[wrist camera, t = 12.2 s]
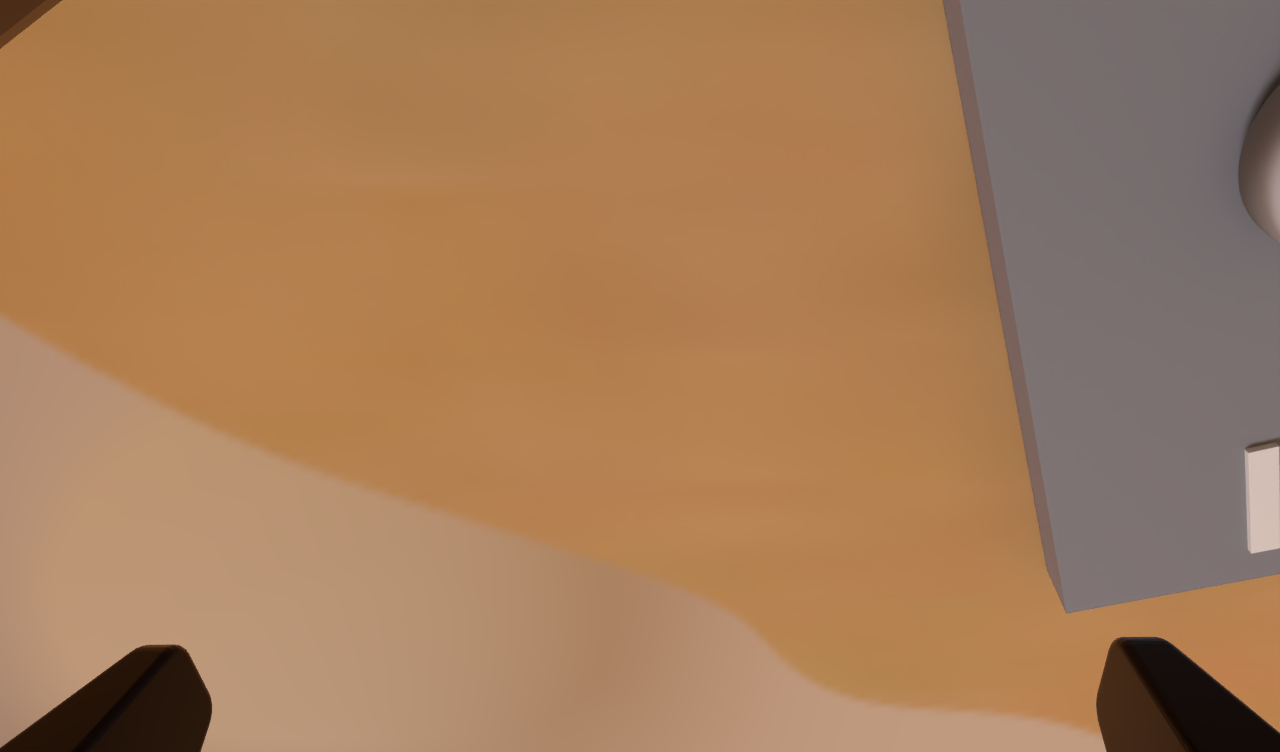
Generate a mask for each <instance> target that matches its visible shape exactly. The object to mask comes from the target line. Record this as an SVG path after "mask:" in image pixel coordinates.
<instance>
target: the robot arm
mask: <svg viewBox="0 0 1280 752" xmlns="http://www.w3.org/2000/svg"><path fill="white" fill-rule="evenodd" d="M60 1H62V0H0V48H2V47H3V46H4V45H5V44H7V43H8V42H9V41H11V40H12V39H13V38H14V37H16V36H17V35H18V34H19V33H21V32H22V31H23V30H25V29H26V28H27V27H28V26H30V25H31V24H32V23H33V22H35V21H36V20H37V19H39V18H40V17H41V16H42V15H44V14H45V13H46V12H48V11H49V10H50V9H51V8H53V7H54V6H55V5H56V4H58V3H59V2H60ZM1096 707H1097V716H1098V722H1099V726H1100V730H1101V733H1102V737H1103V740H1104V744H1105V748H1106V751H1107V752H1280V733H1279V732H1278V731H1277V730H1276V729H1274V728H1273V727H1272V726H1271V725H1270V724H1268V723H1267V722H1266V721H1265V720H1263V719H1262V718H1261V717H1260V716H1259V715H1257V714H1256V713H1255V712H1254V711H1253V710H1251V709H1250V708H1249V707H1248V706H1247V705H1245V704H1244V703H1243V702H1242V701H1240V700H1239V699H1238V698H1237V697H1236V696H1234V695H1233V694H1232V693H1231V692H1230V691H1228V690H1227V689H1226V688H1225V687H1224V686H1222V685H1221V684H1220V683H1219V682H1217V681H1216V680H1215V679H1214V678H1213V677H1211V676H1210V675H1209V674H1208V673H1207V672H1205V671H1204V670H1203V669H1202V668H1201V667H1199V666H1198V665H1197V664H1196V663H1194V662H1193V661H1192V660H1191V659H1190V658H1188V657H1187V656H1186V655H1185V654H1184V653H1182V652H1181V651H1180V650H1179V649H1178V648H1176V647H1175V646H1174V645H1173V644H1171V643H1170V642H1168V641H1166V640H1164V639H1162V638H1158V637H1121V638H1117V639H1116V640H1114V641H1113V642H1112V644H1111V646H1110V648H1109V651H1108V655H1107V659H1106V663H1105V667H1104V670H1103V674H1102V678H1101V682H1100V686H1099V689H1098V693H1097V701H1096ZM211 714H212V702H211V697H210V694H209V692H208V690H207V688H206V686H205V684H204V682H203V680H202V678H201V676H200V674H199V672H198V670H197V669H196V666H195V665H194V663H193V661H192V659H191V657H190V655H189V653H188V652H187V650H186V649H184V648H183V647H181V646H179V645H145V646H141V647H139V648H136V649H135V650H133V651H132V652H130V653H129V654H127V655H126V656H125V657H123V658H122V659H121V660H119V661H118V662H116V663H115V664H114V665H112V666H111V667H110V668H108V669H107V670H106V671H104V672H103V673H101V674H100V675H99V676H97V677H96V678H95V679H93V680H92V681H91V682H89V683H88V684H87V685H85V686H84V687H82V688H81V689H80V690H78V691H77V692H76V693H74V694H73V695H72V696H70V697H69V698H67V699H66V700H65V701H63V702H62V703H61V704H59V705H58V706H57V707H55V708H54V709H53V710H51V711H50V712H48V713H47V714H46V715H44V716H43V717H42V718H40V719H39V720H38V721H36V722H35V723H33V724H32V725H31V726H29V727H28V728H27V729H25V730H24V731H23V732H21V733H20V734H19V735H17V736H16V737H15V738H13V739H12V740H10V741H9V742H8V743H6V744H5V745H4V746H2V747H1V748H0V752H201V748H202V746H203V742H204V740H205V736H206V733H207V730H208V727H209V724H210V720H211Z"/></svg>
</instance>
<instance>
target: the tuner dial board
mask: <svg viewBox="0 0 1280 752" xmlns="http://www.w3.org/2000/svg"><path fill="white" fill-rule="evenodd" d="M943 3H944V9H945V14H946V20H947V25H948V31H949V36H950V42H951V47H952V52H953V58H954V63H955V69H956V74H957V80H958V85H959V91H960V96H961V102H962V107H963V113H964V118H965V124H966V129H967V135H968V140H969V145H970V151H971V156H972V162H973V167H974V173H975V178H976V184H977V189H978V195H979V200H980V206H981V211H982V217H983V222H984V227H985V233H986V238H987V244H988V249H989V255H990V260H991V266H992V271H993V277H994V282H995V288H996V293H997V299H998V304H999V309H1000V315H1001V320H1002V326H1003V331H1004V337H1005V342H1006V348H1007V353H1008V359H1009V364H1010V370H1011V375H1012V381H1013V386H1014V391H1015V397H1016V402H1017V408H1018V413H1019V419H1020V424H1021V430H1022V435H1023V441H1024V446H1025V452H1026V457H1027V463H1028V468H1029V473H1030V479H1031V484H1032V490H1033V495H1034V501H1035V506H1036V512H1037V517H1038V523H1039V528H1040V534H1041V539H1042V545H1043V550H1044V555H1045V561H1046V566H1047V571H1048V573H1049V576H1050V578H1051V580H1052V582H1053V585H1054V587H1055V589H1056V591H1057V594H1058V596H1059V598H1060V600H1061V603H1062V605H1063V607H1064V609H1065V612H1066V614H1067V613H1072V612H1078V611H1083V610H1088V609H1094V608H1099V607H1105V606H1110V605H1115V604H1121V603H1126V602H1131V601H1137V600H1142V599H1147V598H1153V597H1158V596H1164V595H1169V594H1174V593H1180V592H1185V591H1190V590H1196V589H1201V588H1206V587H1212V586H1217V585H1223V584H1228V583H1233V582H1239V581H1244V580H1249V579H1255V578H1260V577H1266V576H1271V575H1276V574H1280V243H1278V242H1277V241H1276V240H1274V239H1273V238H1272V237H1270V236H1269V235H1268V234H1266V233H1265V232H1264V231H1263V230H1262V229H1261V228H1260V227H1258V226H1257V225H1256V224H1255V222H1254V221H1253V220H1252V218H1251V217H1250V216H1249V214H1248V212H1247V210H1246V209H1245V207H1244V205H1243V202H1242V198H1241V195H1240V192H1239V183H1238V166H1239V160H1240V155H1241V150H1242V147H1243V144H1244V141H1245V138H1246V135H1247V133H1248V131H1249V128H1250V126H1251V124H1252V122H1253V120H1254V118H1255V117H1256V115H1257V114H1258V112H1259V110H1260V109H1261V107H1262V105H1263V104H1264V103H1265V101H1266V100H1267V99H1268V97H1269V96H1270V95H1271V94H1272V92H1273V91H1274V90H1275V89H1276V88H1277V87H1278V86H1279V84H1280V0H943Z"/></svg>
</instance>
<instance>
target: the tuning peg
mask: <svg viewBox="0 0 1280 752" xmlns="http://www.w3.org/2000/svg"><path fill="white" fill-rule="evenodd" d="M1238 183H1239V192H1240V195H1241V198H1242V202H1243V205H1244V207H1245V209H1246V210H1247V212H1248V214H1249V216H1250V217H1251V218H1252V220H1253V221H1254V222H1255V224H1256V225H1257V226H1258V227H1260V228H1261V229H1262V230H1263V231H1264V232H1265V233H1266V234H1268V235H1269V236H1270V237H1272V238H1273V239H1274V240H1276V241H1277V242H1278V243H1280V84H1279V86H1278V87H1277V88H1276V89H1275V90H1274V91H1273V92H1272V94H1271V95H1270V96H1269V97H1268V99H1267V100H1266V101H1265V103H1264V104H1263V105H1262V107H1261V109H1260V110H1259V112H1258V114H1257V115H1256V117H1255V118H1254V120H1253V122H1252V124H1251V126H1250V128H1249V131H1248V133H1247V135H1246V138H1245V141H1244V144H1243V147H1242V150H1241V155H1240V160H1239V166H1238Z"/></svg>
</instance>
